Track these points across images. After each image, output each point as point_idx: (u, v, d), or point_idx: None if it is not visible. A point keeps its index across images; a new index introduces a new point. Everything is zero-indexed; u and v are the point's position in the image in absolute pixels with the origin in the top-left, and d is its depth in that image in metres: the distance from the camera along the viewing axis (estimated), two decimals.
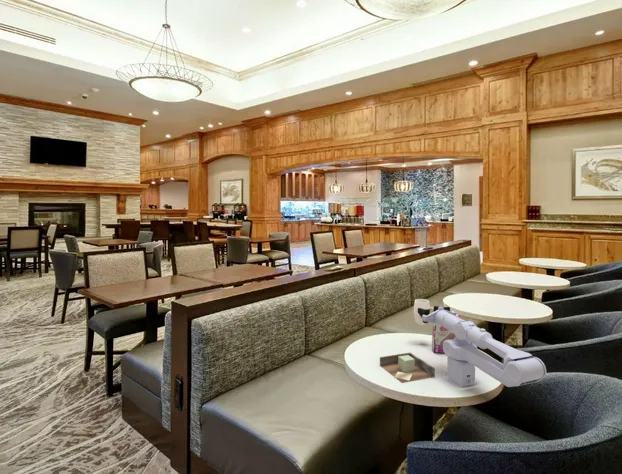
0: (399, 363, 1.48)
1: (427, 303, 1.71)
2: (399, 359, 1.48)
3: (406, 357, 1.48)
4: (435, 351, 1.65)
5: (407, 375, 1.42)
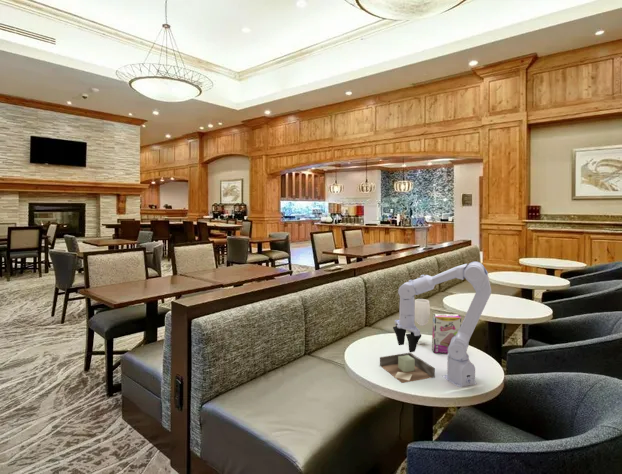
0: (399, 363, 1.48)
1: (427, 303, 1.71)
2: (399, 359, 1.48)
3: (406, 357, 1.48)
4: (435, 351, 1.65)
5: (407, 375, 1.42)
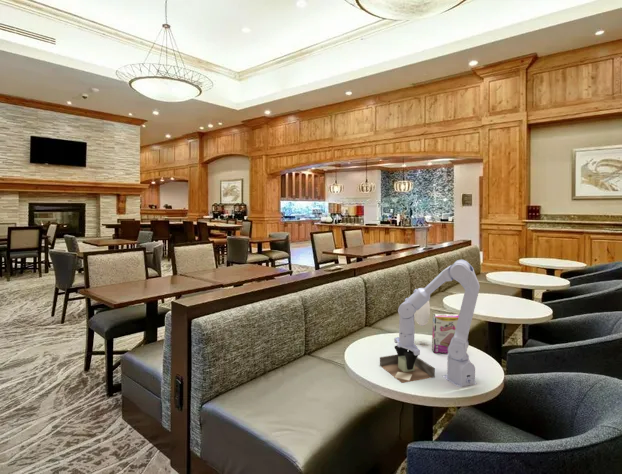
0: (399, 363, 1.48)
1: (427, 303, 1.71)
2: (399, 359, 1.48)
3: None
4: (435, 351, 1.65)
5: (407, 375, 1.42)
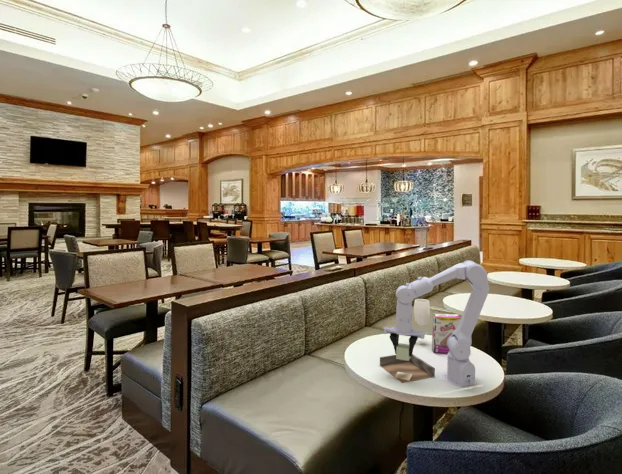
0: (398, 353, 1.40)
1: (427, 303, 1.71)
2: (398, 349, 1.40)
3: (403, 345, 1.41)
4: (435, 351, 1.65)
5: (407, 375, 1.42)
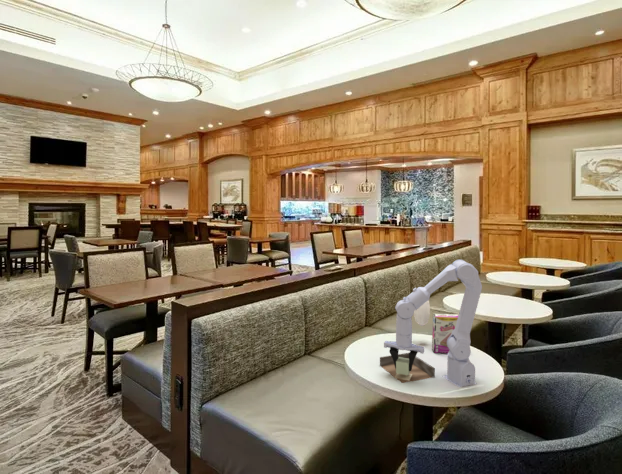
0: (398, 368, 1.40)
1: (427, 303, 1.71)
2: (398, 364, 1.40)
3: (402, 359, 1.42)
4: (435, 351, 1.65)
5: (407, 375, 1.42)
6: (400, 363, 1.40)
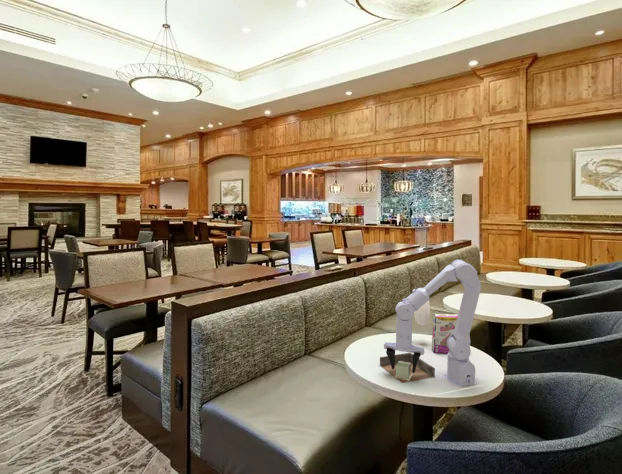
0: (398, 372, 1.40)
1: (427, 303, 1.71)
2: (398, 368, 1.40)
3: (402, 363, 1.42)
4: (435, 351, 1.65)
5: None
6: (400, 367, 1.40)
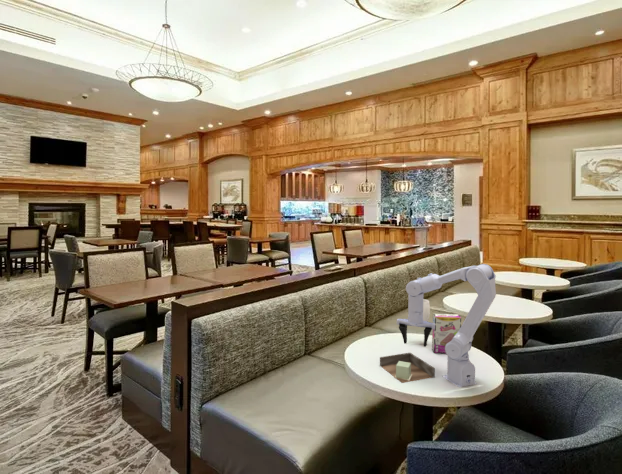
0: (398, 372, 1.40)
1: (427, 303, 1.71)
2: (398, 368, 1.40)
3: (402, 363, 1.42)
4: (435, 351, 1.65)
5: None
6: (400, 367, 1.40)
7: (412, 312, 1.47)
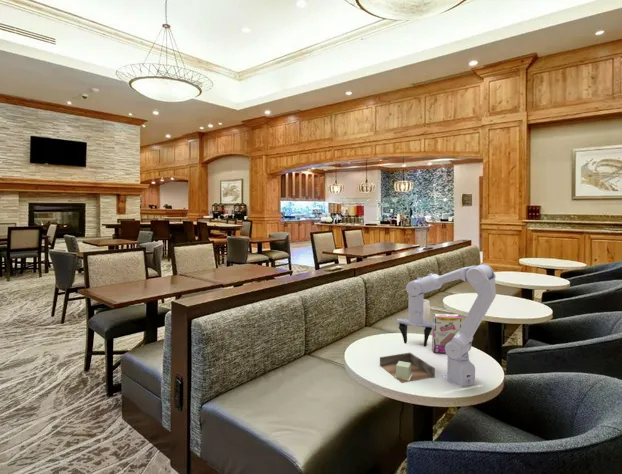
0: (398, 372, 1.40)
1: (427, 303, 1.71)
2: (398, 368, 1.40)
3: (402, 363, 1.42)
4: (435, 351, 1.65)
5: None
6: (400, 367, 1.40)
7: (412, 312, 1.47)
